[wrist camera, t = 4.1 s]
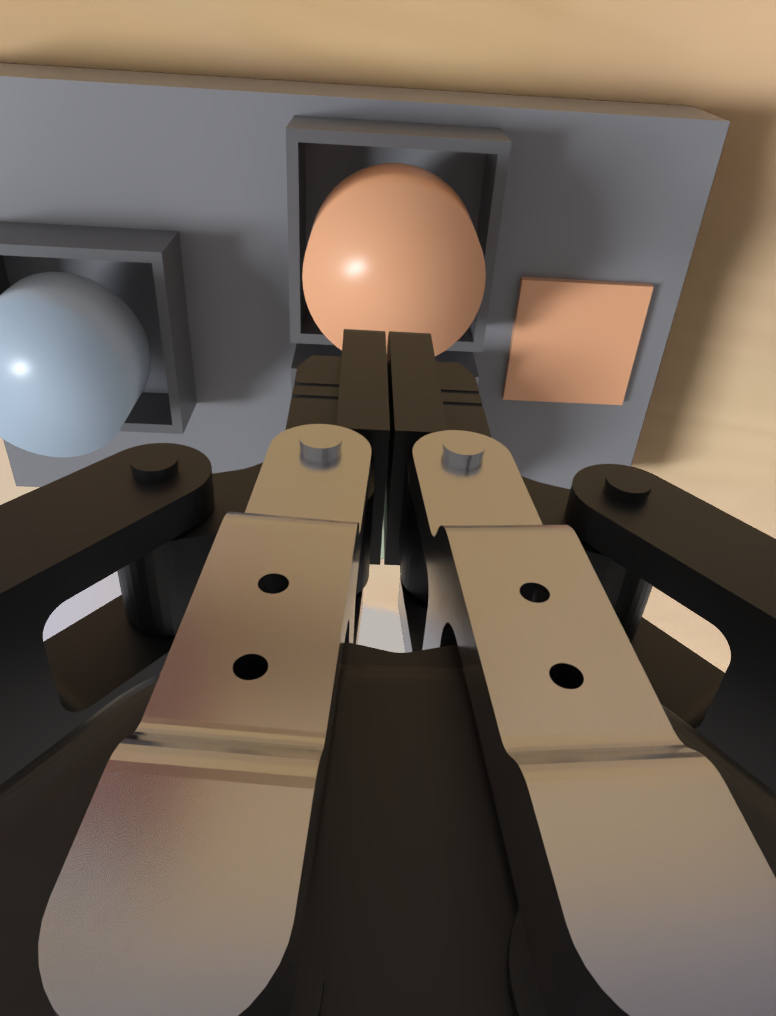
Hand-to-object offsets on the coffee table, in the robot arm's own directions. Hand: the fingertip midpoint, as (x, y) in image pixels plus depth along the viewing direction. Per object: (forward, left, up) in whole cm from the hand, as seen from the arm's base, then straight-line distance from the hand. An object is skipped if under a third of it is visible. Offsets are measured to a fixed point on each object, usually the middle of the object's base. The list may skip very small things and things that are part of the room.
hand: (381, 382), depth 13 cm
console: (+2, +3, -14) cm, 14 cm away
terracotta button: (0, 0, -8) cm, 8 cm away
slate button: (+9, +3, -8) cm, 12 cm away
